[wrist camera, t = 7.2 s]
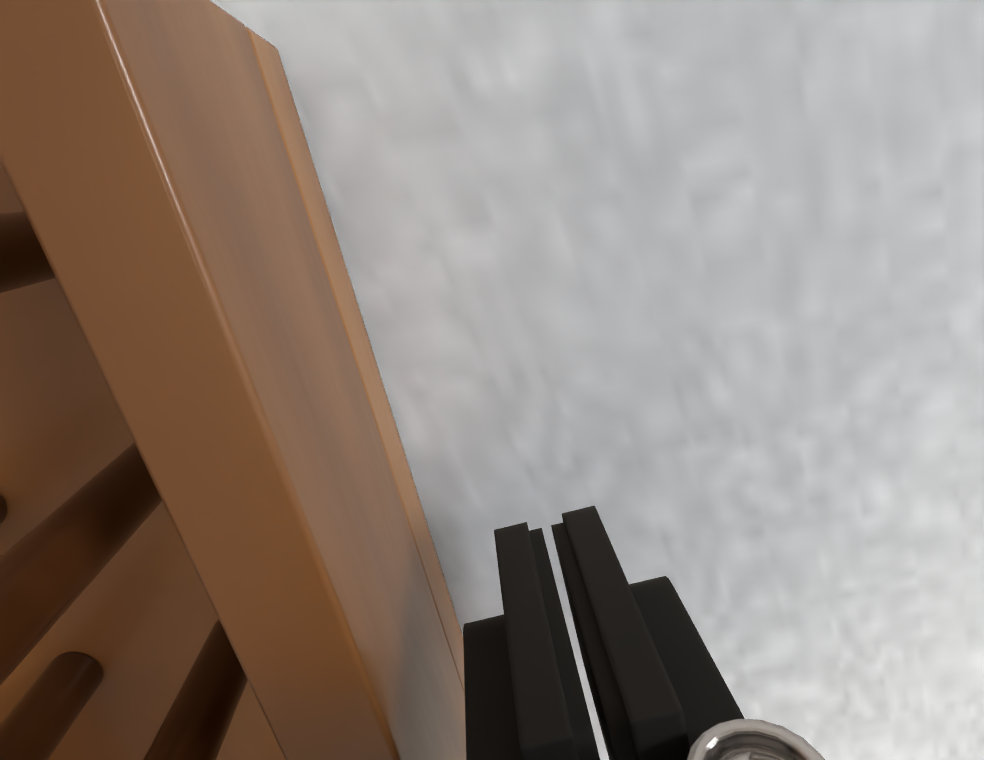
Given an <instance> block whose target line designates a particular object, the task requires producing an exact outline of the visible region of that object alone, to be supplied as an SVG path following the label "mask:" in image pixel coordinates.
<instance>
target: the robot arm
mask: <svg viewBox="0 0 984 760" xmlns="http://www.w3.org/2000/svg"><path fill="white" fill-rule="evenodd" d="M562 518H563V523H560V524H555V525H551V527H552V532H553V536H554V540H555V544H556V549H557V553H558V557H559V561H560V566H561V570H562V574H563V578H564V583H565V587H566V591H567V595H568V599H569V604H570V608H571V612H572V616H573V621H574V625H575V629H576V633H577V638H578V642H579V646H580V650H581V655H582V659H583V663H584V667H585V671H586V674H587V678H588V682H589V686H590V689H591V693H592V697H593V700H594V704H595V708H596V712H597V715H598V719H599V723H600V726H601V730H602V734H603V737H604V741H605V745H606V749H607V752H608V756H609V760H825V759H824V758H823V757H822V755H821V754H820V753H818V752H817V751H816V750H815V749H814V748H813V747H812V746H811V745H810V744H809V743H808V742H807V741H806V740H805V739H804V738H802V737H800V736H799V735H797V734H795V733H793V732H791V731H790V730H788V729H786V728H784V727H783V726H780V725H776V724H773V723H769V722H766V721H763V720H753V719H744V717H743V715H742V713H741V711H740V709H739V707H738V706H737V704H736V702H735V700H734V698H733V696H732V694H731V693H730V691H729V689H728V687H727V685H726V683H725V681H724V679H723V678H722V676H721V674H720V672H719V670H718V668H717V666H716V665H715V663H714V661H713V659H712V657H711V655H710V653H709V652H708V650H707V648H706V646H705V644H704V642H703V640H702V639H701V637H700V635H699V633H698V631H697V629H696V627H695V626H694V624H693V622H692V620H691V618H690V616H689V614H688V613H687V611H686V609H685V607H684V605H683V603H682V601H681V600H680V598H679V596H678V594H677V592H676V590H675V588H674V587H673V585H672V583H671V582H670V580H669V578H667V577H666V576H663V577H659V578H655V579H651V580H646V581H642V582H638V583H634V584H630V585H629V584H628V582H627V579H626V577H625V575H624V572H623V570H622V568H621V565H620V563H619V561H618V559H617V556H616V554H615V552H614V549H613V547H612V545H611V542H610V540H609V538H608V535H607V533H606V531H605V528H604V526H603V524H602V522H601V519H600V517H599V515H598V512H597V510H596V508H595V506H591V507H587V508H583V509H579V510H575V511H571V512H566V513H562ZM494 534H495V542H496V551H497V559H498V567H499V576H500V584H501V593H502V601H503V609H504V615H500V616H496V617H491V618H487V619H483V620H479V621H475V622H470V623H466V624H464V627H463V648H464V687H465V726H466V760H600V758H599V754H598V750H597V745H596V741H595V737H594V733H593V729H592V725H591V721H590V717H589V713H588V709H587V705H586V701H585V697H584V693H583V689H582V685H581V682H580V678H579V674H578V670H577V666H576V662H575V658H574V654H573V650H572V646H571V642H570V638H569V634H568V630H567V626H566V623H565V619H564V615H563V611H562V607H561V603H560V599H559V595H558V591H557V587H556V583H555V579H554V575H553V571H552V567H551V563H550V560H549V556H548V552H547V548H546V544H545V540H544V536H543V532H542V528H539V529H535V530H531V531H529V529H528V526H527V522H525V523H521V524H517V525H513V526H508V527H504V528H500V529H496V530H494Z"/></svg>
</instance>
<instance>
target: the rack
mask: <svg viewBox="0 0 984 760" xmlns="http://www.w3.org/2000/svg"><path fill="white" fill-rule="evenodd" d="M0 760H466V726H465V687H464V648H463V636H462V633H461V630H460V627H459V623H458V620H457V617H456V614H455V611H454V608H453V604H452V601H451V598H450V595H449V592H448V589H447V585H446V582H445V579H444V576H443V573H442V570H441V566H440V563H439V560H438V557H437V554H436V551H435V547H434V544H433V541H432V538H431V535H430V532H429V528H428V525H427V522H426V519H425V516H424V513H423V509H422V506H421V503H420V500H419V497H418V494H417V490H416V487H415V484H414V481H413V478H412V474H411V471H410V468H409V465H408V462H407V459H406V455H405V452H404V449H403V446H402V443H401V440H400V436H399V433H398V430H397V427H396V424H395V421H394V417H393V414H392V411H391V408H390V405H389V402H388V398H387V395H386V392H385V389H384V386H383V383H382V379H381V376H380V373H379V370H378V367H377V364H376V360H375V357H374V354H373V351H372V348H371V345H370V341H369V338H368V335H367V332H366V329H365V326H364V322H363V319H362V316H361V313H360V310H359V306H358V303H357V300H356V297H355V294H354V291H353V287H352V284H351V281H350V278H349V275H348V272H347V268H346V265H345V262H344V259H343V256H342V253H341V249H340V246H339V243H338V240H337V237H336V234H335V230H334V227H333V224H332V221H331V218H330V215H329V211H328V208H327V205H326V202H325V199H324V196H323V192H322V189H321V186H320V183H319V180H318V177H317V173H316V170H315V167H314V164H313V161H312V158H311V154H310V151H309V148H308V145H307V142H306V138H305V135H304V132H303V129H302V126H301V123H300V119H299V116H298V113H297V110H296V107H295V104H294V100H293V97H292V94H291V91H290V88H289V85H288V81H287V78H286V75H285V72H284V69H283V66H282V62H281V59H280V56H279V53H278V50H277V49H276V48H275V46H273V45H272V44H270V43H269V42H267V41H266V40H265V39H263V38H262V37H260V36H259V35H257V34H256V33H254V32H253V31H252V30H250V29H249V28H247V27H245V26H244V24H243V23H241V22H240V21H238V20H237V19H236V18H234V17H233V16H231V15H230V14H228V13H227V12H225V11H224V10H223V9H221V8H220V7H218V6H217V5H215V4H214V3H213V2H211V1H210V0H0Z"/></svg>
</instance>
